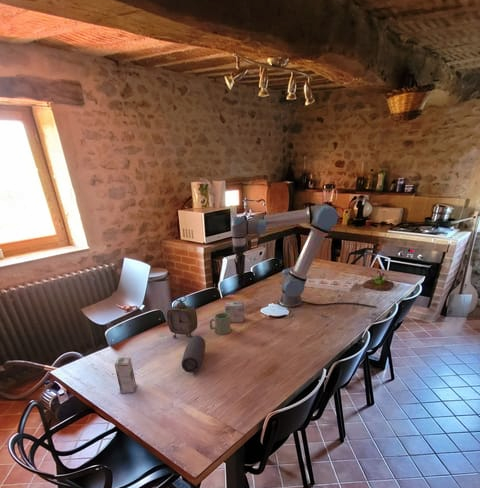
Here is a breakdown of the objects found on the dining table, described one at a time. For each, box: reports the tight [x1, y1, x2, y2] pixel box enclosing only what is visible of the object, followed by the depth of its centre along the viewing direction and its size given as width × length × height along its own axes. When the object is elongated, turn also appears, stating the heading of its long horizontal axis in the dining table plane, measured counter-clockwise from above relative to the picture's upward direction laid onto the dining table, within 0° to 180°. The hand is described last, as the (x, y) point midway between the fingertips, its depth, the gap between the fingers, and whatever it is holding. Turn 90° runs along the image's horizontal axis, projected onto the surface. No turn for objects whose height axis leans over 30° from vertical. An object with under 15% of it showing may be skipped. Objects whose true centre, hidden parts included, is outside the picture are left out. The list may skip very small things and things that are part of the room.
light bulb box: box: [224, 301, 245, 323], centre depth 217 cm, size 11×7×11 cm, turn 84°
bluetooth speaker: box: [181, 335, 206, 374], centre depth 173 cm, size 23×9×10 cm, turn 178°
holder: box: [304, 278, 358, 293], centre depth 272 cm, size 45×18×3 cm, turn 59°
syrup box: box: [114, 356, 137, 394], centre depth 154 cm, size 6×6×14 cm
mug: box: [208, 312, 232, 335], centre depth 204 cm, size 12×9×10 cm
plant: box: [363, 270, 395, 292], centre depth 260 cm, size 20×20×11 cm
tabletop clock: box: [166, 293, 198, 340], centre depth 196 cm, size 14×9×25 cm, turn 70°
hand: (241, 284), depth 221 cm, fingers closed
